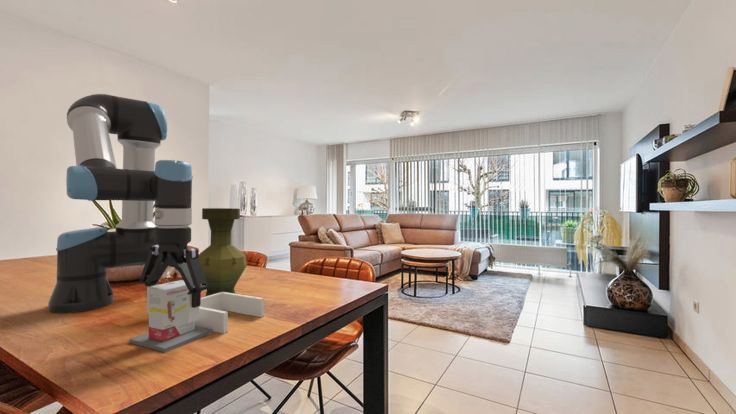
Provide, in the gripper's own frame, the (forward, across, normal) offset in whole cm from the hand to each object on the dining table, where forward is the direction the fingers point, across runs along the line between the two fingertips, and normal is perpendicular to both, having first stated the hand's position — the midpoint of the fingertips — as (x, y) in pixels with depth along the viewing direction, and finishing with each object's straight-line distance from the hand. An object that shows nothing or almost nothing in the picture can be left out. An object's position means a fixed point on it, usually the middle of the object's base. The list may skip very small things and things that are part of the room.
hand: (172, 316), depth 79 cm
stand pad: (+5, 0, 0) cm, 5 cm away
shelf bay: (+5, +1, +14) cm, 15 cm away
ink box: (+4, 0, 0) cm, 4 cm away
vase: (+5, -15, +28) cm, 32 cm away
